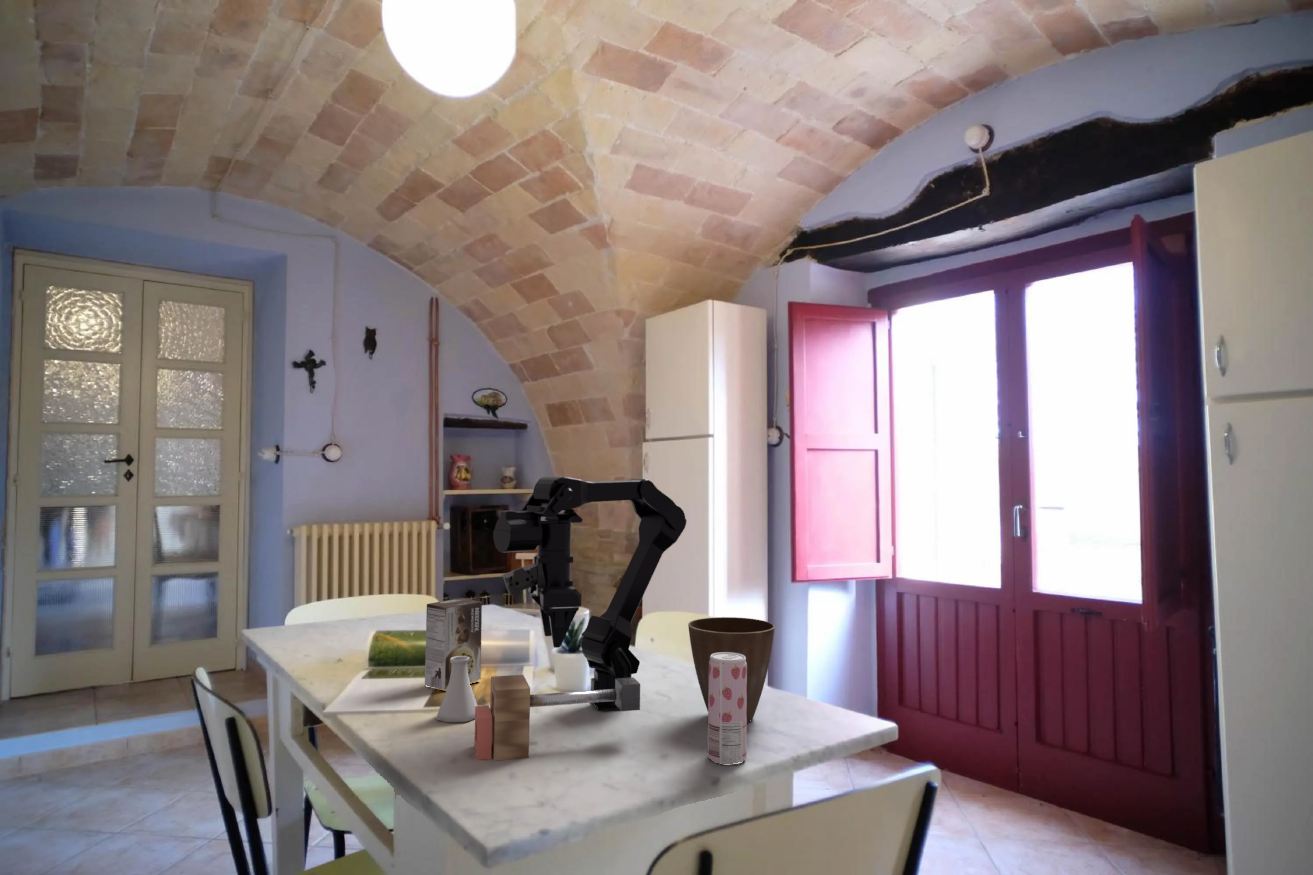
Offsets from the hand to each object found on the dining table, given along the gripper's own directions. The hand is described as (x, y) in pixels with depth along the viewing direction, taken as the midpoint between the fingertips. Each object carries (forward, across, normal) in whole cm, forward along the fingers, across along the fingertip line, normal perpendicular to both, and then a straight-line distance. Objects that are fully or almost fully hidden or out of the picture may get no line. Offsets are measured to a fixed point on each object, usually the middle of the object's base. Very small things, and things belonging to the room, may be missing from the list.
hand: (552, 641), depth 133 cm
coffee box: (+13, -26, -15) cm, 33 cm away
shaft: (+8, +13, +2) cm, 15 cm away
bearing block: (+13, +13, -8) cm, 20 cm away
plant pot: (+13, +7, +30) cm, 34 cm away
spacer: (+13, +13, -12) cm, 22 cm away
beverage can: (+13, +25, +22) cm, 36 cm away
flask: (+13, -5, -15) cm, 21 cm away
